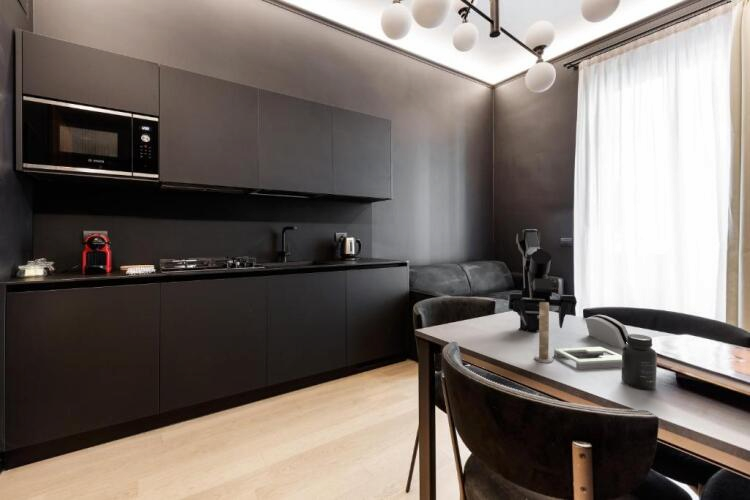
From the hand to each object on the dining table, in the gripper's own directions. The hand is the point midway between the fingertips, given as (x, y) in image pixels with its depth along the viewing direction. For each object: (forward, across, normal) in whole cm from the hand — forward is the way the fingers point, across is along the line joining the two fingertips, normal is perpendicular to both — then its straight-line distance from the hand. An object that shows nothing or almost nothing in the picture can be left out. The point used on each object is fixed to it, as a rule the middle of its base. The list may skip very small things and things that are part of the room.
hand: (543, 326), depth 103 cm
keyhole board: (+5, +13, +9) cm, 16 cm away
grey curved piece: (-10, +24, +25) cm, 36 cm away
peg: (+7, 0, +7) cm, 10 cm away
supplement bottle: (+16, +19, -1) cm, 25 cm away
